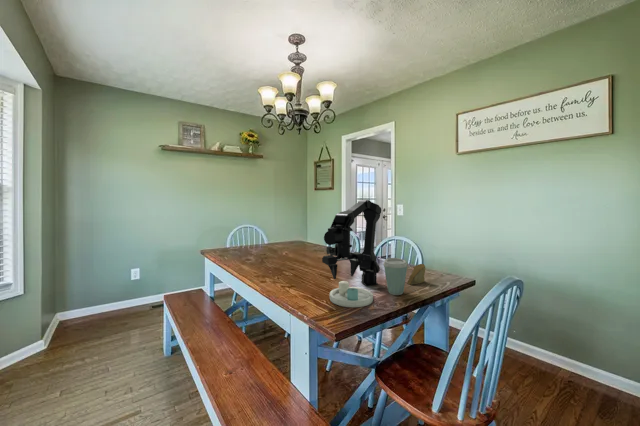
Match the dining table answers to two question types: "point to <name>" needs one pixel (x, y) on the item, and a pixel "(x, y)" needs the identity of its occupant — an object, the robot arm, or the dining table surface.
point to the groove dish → (363, 300)
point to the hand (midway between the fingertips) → (343, 277)
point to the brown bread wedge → (417, 275)
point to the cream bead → (343, 287)
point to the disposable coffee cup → (395, 275)
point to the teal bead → (352, 294)
